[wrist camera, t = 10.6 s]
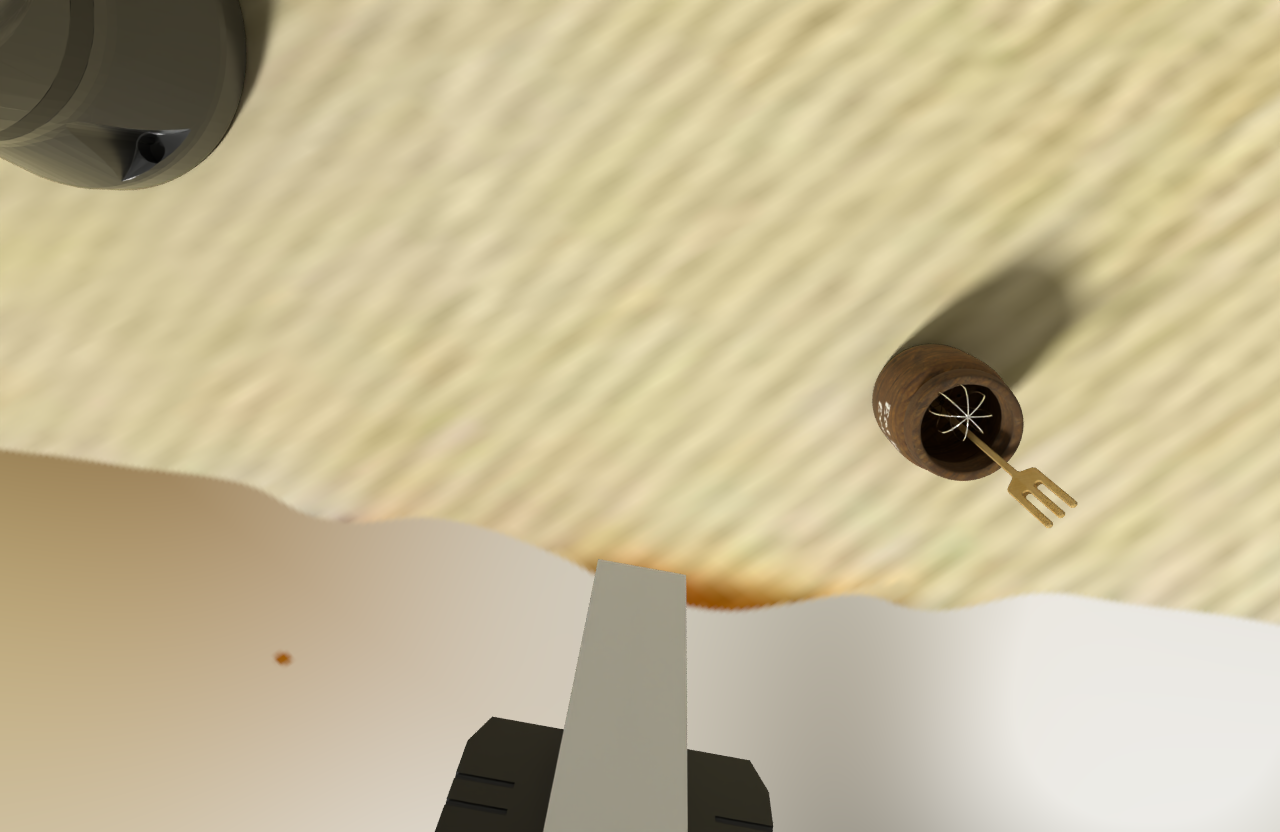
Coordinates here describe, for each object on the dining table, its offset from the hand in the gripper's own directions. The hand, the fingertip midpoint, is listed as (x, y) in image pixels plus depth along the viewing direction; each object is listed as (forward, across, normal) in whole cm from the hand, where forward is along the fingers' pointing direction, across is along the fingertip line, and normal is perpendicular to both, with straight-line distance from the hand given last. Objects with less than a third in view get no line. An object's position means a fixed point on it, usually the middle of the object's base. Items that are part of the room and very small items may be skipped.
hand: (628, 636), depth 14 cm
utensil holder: (+31, +15, -2) cm, 34 cm away
